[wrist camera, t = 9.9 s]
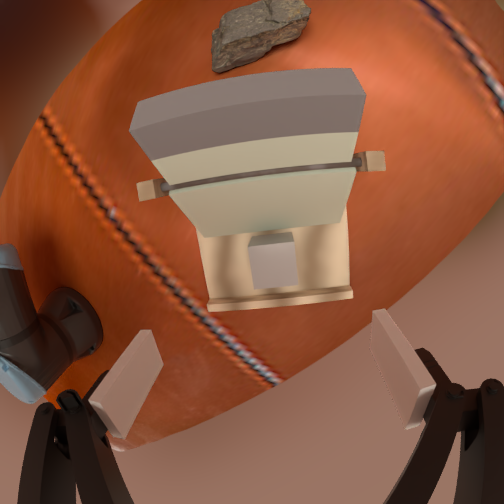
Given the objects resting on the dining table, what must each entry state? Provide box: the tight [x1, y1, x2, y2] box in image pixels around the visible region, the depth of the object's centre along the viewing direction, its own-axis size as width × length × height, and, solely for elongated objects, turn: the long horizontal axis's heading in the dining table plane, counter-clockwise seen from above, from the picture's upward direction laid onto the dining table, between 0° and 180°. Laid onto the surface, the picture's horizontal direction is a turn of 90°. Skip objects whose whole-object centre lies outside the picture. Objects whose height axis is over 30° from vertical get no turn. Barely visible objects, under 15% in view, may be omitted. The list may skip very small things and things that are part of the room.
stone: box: [248, 232, 298, 289], centre depth 36 cm, size 6×6×6 cm
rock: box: [211, 0, 311, 73], centre depth 28 cm, size 17×7×10 cm
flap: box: [129, 68, 366, 238], centre depth 27 cm, size 19×22×4 cm
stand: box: [137, 151, 386, 312], centre depth 31 cm, size 23×28×14 cm
